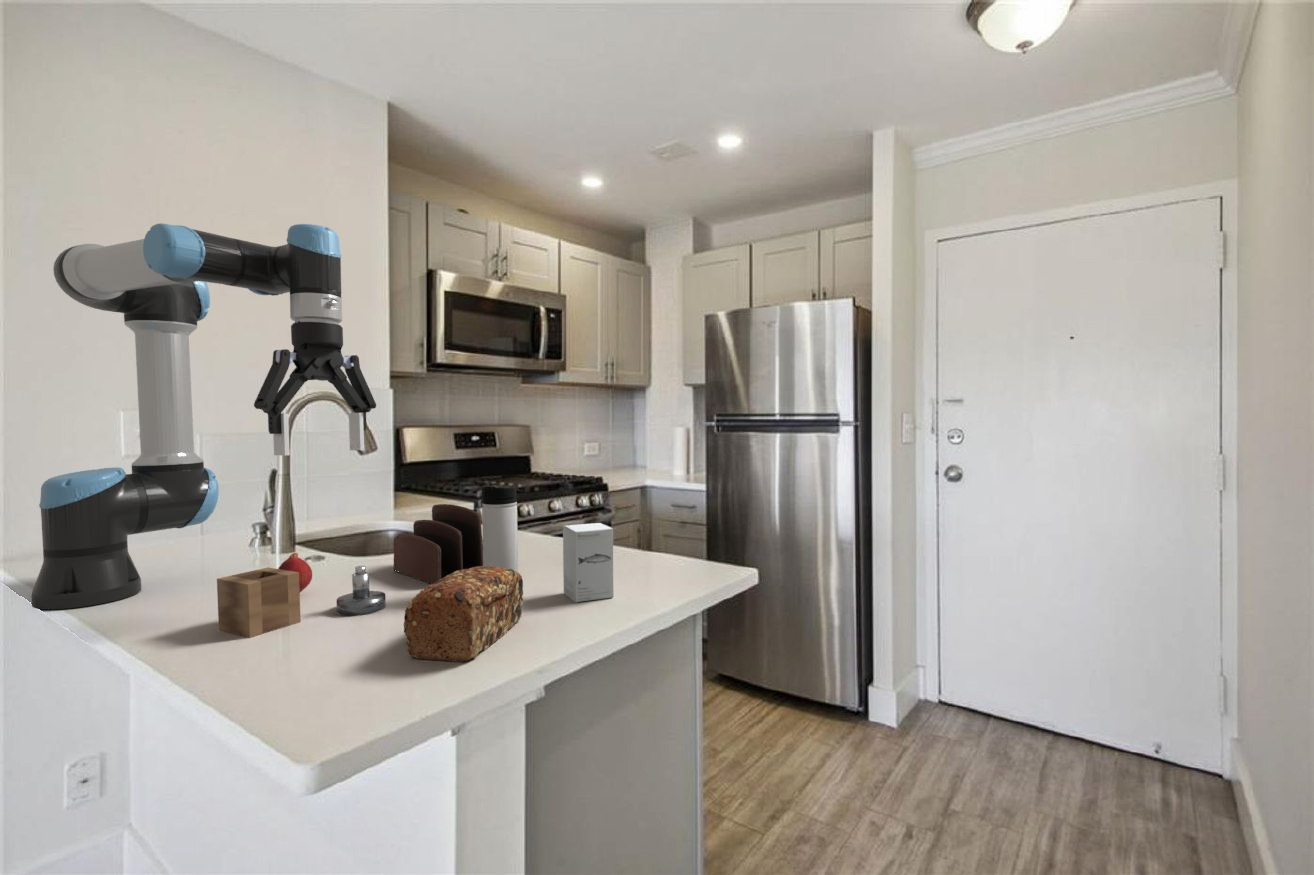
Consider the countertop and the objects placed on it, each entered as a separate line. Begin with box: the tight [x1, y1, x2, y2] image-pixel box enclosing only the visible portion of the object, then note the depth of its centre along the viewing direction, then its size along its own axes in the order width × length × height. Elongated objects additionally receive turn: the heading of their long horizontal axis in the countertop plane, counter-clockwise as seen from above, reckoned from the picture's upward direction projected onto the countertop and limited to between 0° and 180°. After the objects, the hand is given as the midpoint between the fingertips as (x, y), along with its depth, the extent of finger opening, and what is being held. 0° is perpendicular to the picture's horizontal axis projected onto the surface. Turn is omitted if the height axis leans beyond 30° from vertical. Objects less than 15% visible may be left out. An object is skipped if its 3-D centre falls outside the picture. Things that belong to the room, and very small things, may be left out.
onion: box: [277, 552, 313, 593], centre depth 118 cm, size 6×6×8 cm
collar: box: [216, 567, 302, 638], centre depth 102 cm, size 8×8×8 cm
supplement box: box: [562, 522, 615, 604], centre depth 116 cm, size 7×7×13 cm
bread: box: [403, 566, 524, 663], centre depth 95 cm, size 19×11×10 cm, turn 170°
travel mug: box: [481, 485, 519, 573], centre depth 119 cm, size 6×7×20 cm
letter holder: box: [393, 503, 483, 585], centre depth 133 cm, size 10×20×14 cm, turn 46°
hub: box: [335, 565, 387, 617], centre depth 110 cm, size 8×8×7 cm
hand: (321, 452), depth 107 cm, fingers open, 13 cm apart
